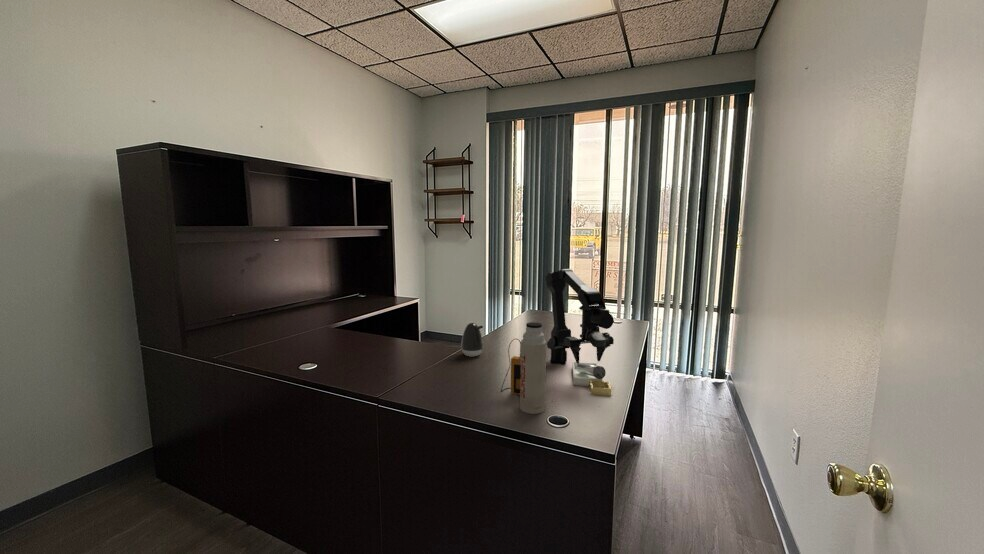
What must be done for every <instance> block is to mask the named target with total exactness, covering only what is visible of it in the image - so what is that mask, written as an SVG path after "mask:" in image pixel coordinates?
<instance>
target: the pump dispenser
mask: <svg viewBox="0 0 984 554" xmlns="http://www.w3.org/2000/svg"><path fill="white" fill-rule="evenodd" d="M483 328H484V325H479V326H478V324H477V323H474V322H469V323H468V324H467V325H466V327H465V328H464V331H463V334H462V337H461V343H460V349H461V351H462V353H463V354H464V355H465V356H467V357H468V356H469V357H470V358H475V356H476V357H477V356H479V355H481V354H482V352H483V349H484V342H483V337H482V333H481V329H483Z"/></svg>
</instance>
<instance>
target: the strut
mask: <svg viewBox="0 0 984 554" xmlns="http://www.w3.org/2000/svg"><path fill="white" fill-rule="evenodd" d="M585 363H586V362H585ZM585 363H579V364H578V365H577V371H578V372H579V373H583V374H586V375H590V376H593V377H595V378H597V379H602V380H603V379H604V378H605V376H606V374H607V372H606V368H604V366H601V365H598V366H593V365H589V364H585Z"/></svg>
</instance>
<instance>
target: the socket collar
mask: <svg viewBox="0 0 984 554" xmlns="http://www.w3.org/2000/svg"><path fill="white" fill-rule="evenodd" d="M589 391H590V395H591V396H594V395H595V396H606V397H607V396H608V397H610V396H612V386H611V384H610V381H606V380H605V381H603V380H602V381H590V386H589Z"/></svg>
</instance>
